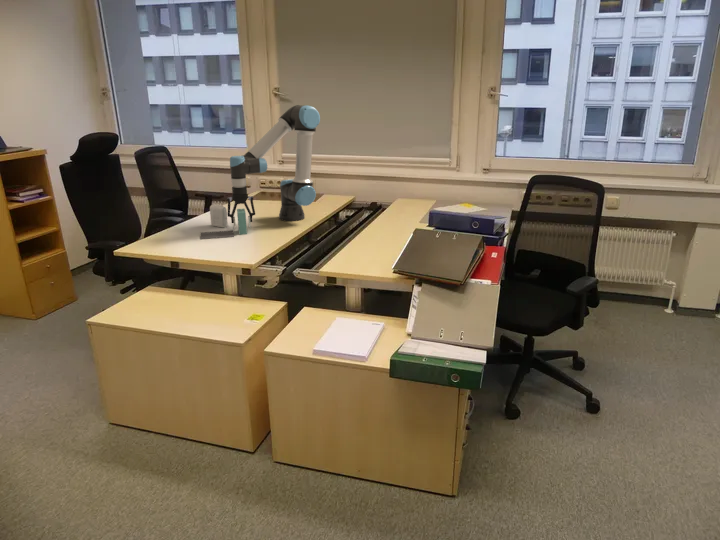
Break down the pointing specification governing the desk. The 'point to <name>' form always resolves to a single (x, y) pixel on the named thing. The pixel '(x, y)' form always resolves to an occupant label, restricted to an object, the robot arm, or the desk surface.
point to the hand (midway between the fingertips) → (242, 228)
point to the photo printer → (218, 215)
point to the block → (242, 221)
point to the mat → (216, 234)
